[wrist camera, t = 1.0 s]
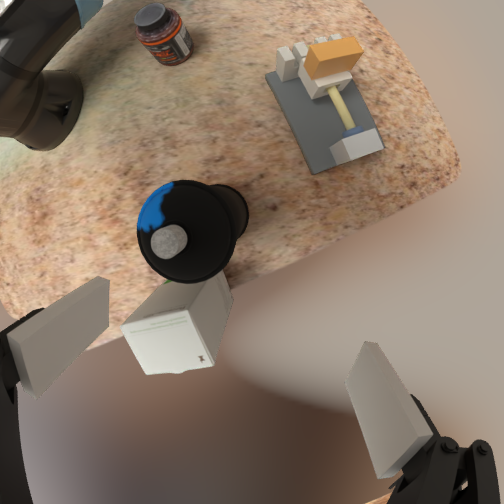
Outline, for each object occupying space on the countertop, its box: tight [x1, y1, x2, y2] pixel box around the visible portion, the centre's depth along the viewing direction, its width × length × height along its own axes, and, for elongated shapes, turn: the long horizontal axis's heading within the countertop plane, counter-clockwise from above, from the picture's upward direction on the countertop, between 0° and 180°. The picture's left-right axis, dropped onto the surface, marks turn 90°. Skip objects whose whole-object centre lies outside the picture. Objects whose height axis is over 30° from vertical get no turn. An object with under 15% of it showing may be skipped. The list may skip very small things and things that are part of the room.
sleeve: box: [297, 36, 364, 99], centre depth 23 cm, size 4×5×9 cm
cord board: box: [265, 34, 385, 175], centre depth 28 cm, size 15×11×8 cm
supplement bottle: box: [134, 3, 194, 66], centre depth 25 cm, size 6×6×11 cm
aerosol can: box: [137, 180, 249, 284], centre depth 26 cm, size 8×8×20 cm
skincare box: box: [120, 270, 234, 375], centre depth 31 cm, size 8×7×16 cm
